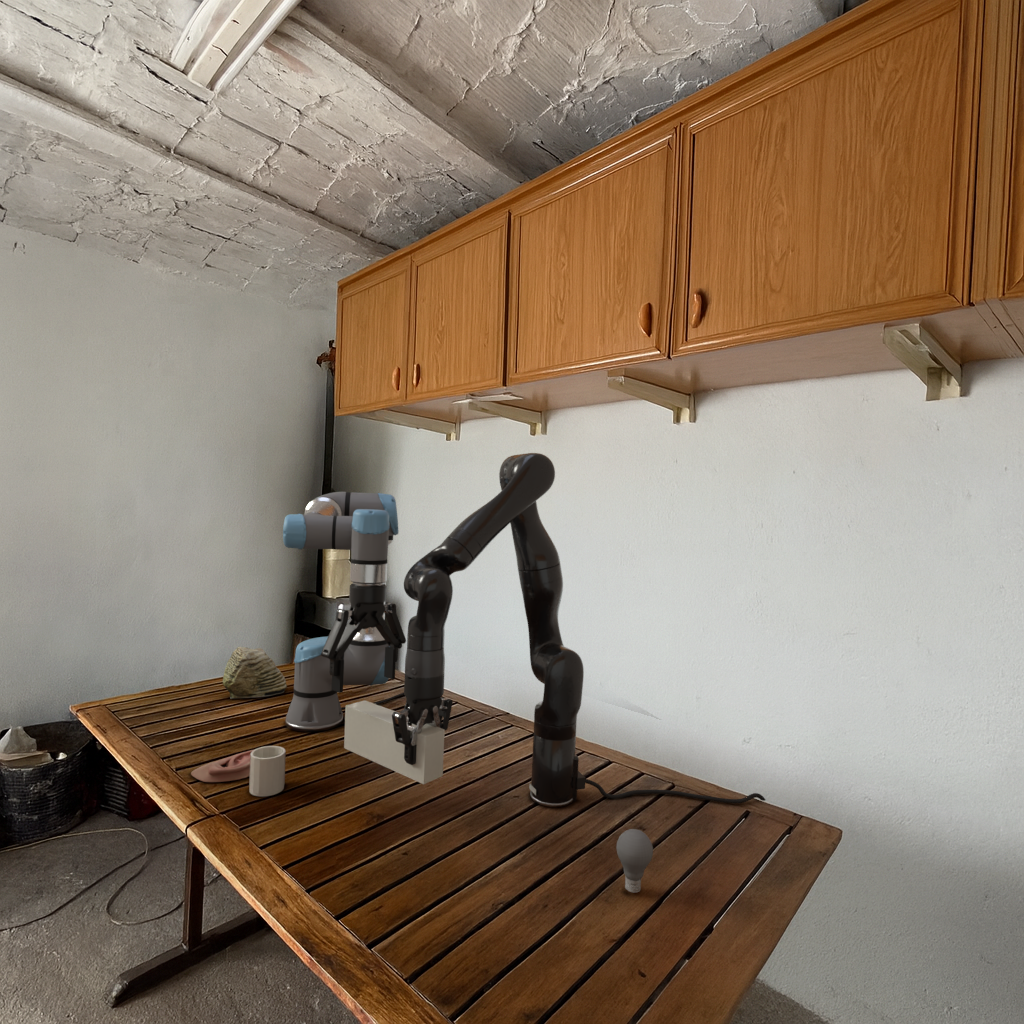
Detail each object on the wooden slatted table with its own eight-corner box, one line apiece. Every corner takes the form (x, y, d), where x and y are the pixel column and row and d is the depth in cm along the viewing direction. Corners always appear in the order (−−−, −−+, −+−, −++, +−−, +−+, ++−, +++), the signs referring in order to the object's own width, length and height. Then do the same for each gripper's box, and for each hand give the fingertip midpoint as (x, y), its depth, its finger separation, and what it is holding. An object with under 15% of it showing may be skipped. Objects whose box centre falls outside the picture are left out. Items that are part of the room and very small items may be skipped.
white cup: (272, 778, 141) (274, 743, 141) (290, 788, 137) (291, 752, 137) (242, 789, 136) (244, 752, 136) (260, 799, 131) (261, 761, 131)
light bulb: (610, 879, 108) (613, 822, 108) (644, 879, 109) (647, 822, 109) (619, 902, 102) (622, 840, 102) (655, 901, 103) (658, 840, 103)
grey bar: (343, 748, 132) (345, 705, 132) (363, 741, 136) (364, 700, 136) (423, 784, 117) (425, 736, 117) (442, 776, 121) (444, 729, 121)
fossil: (218, 695, 195) (220, 647, 195) (278, 685, 208) (279, 640, 207) (228, 703, 189) (230, 653, 188) (289, 692, 201) (290, 645, 201)
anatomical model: (182, 760, 139) (216, 741, 150) (181, 778, 139) (216, 758, 150) (236, 768, 136) (267, 748, 147) (235, 786, 136) (266, 765, 147)
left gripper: (401, 576, 144) (397, 669, 145) (305, 586, 125) (301, 692, 125) (424, 580, 140) (420, 676, 140) (328, 591, 120) (324, 701, 121)
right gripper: (437, 660, 129) (434, 743, 129) (382, 673, 117) (379, 764, 118) (464, 667, 124) (461, 753, 124) (409, 682, 113) (406, 776, 113)
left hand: (364, 684), depth 133 cm, fingers open, 13 cm apart
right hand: (421, 758), depth 121 cm, fingers closed on grey bar, 5 cm apart
